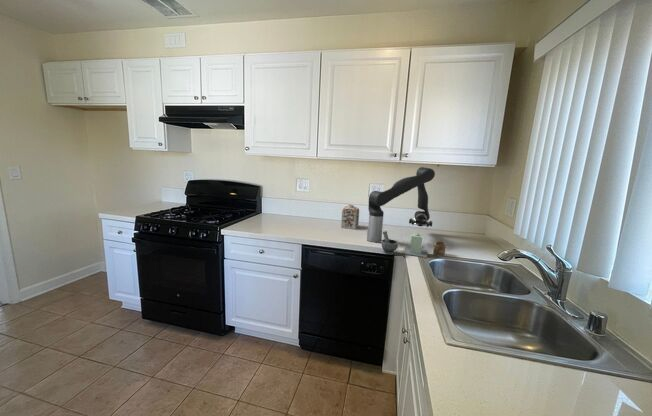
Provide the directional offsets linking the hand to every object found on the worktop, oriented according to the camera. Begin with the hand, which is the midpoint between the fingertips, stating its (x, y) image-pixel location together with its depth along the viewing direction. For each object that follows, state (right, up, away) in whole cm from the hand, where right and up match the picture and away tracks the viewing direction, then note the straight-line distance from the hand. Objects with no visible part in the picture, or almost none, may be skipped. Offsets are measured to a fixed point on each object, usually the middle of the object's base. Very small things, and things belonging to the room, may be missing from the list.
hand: (420, 224), depth 171 cm
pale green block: (-6, -16, -10) cm, 19 cm away
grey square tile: (-6, -16, -10) cm, 20 cm away
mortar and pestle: (-23, -16, -11) cm, 30 cm away
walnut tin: (+7, -17, -11) cm, 21 cm away
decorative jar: (-40, -5, +45) cm, 61 cm away
